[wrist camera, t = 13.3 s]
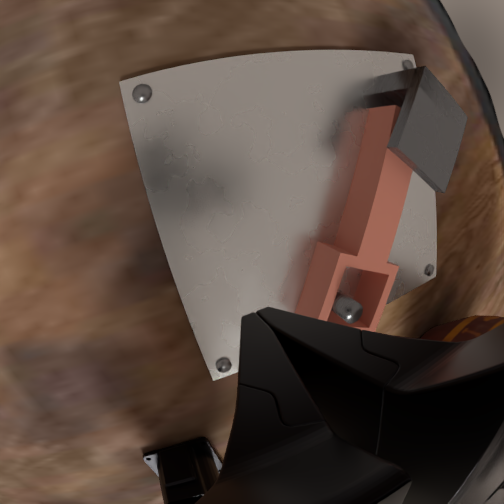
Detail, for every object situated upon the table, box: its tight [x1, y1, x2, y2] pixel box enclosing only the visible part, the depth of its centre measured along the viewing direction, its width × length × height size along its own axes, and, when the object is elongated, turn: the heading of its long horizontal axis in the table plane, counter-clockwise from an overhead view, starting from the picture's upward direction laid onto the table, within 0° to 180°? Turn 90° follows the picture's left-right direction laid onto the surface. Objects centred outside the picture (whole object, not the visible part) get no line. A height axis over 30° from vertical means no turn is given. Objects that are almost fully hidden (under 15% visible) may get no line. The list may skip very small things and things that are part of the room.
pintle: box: [331, 289, 363, 324], centre depth 22 cm, size 2×2×4 cm
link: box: [295, 105, 412, 332], centre depth 22 cm, size 17×6×3 cm, turn 164°
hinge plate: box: [119, 50, 437, 381], centre depth 22 cm, size 22×24×1 cm
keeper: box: [373, 66, 467, 193], centre depth 20 cm, size 7×6×5 cm
